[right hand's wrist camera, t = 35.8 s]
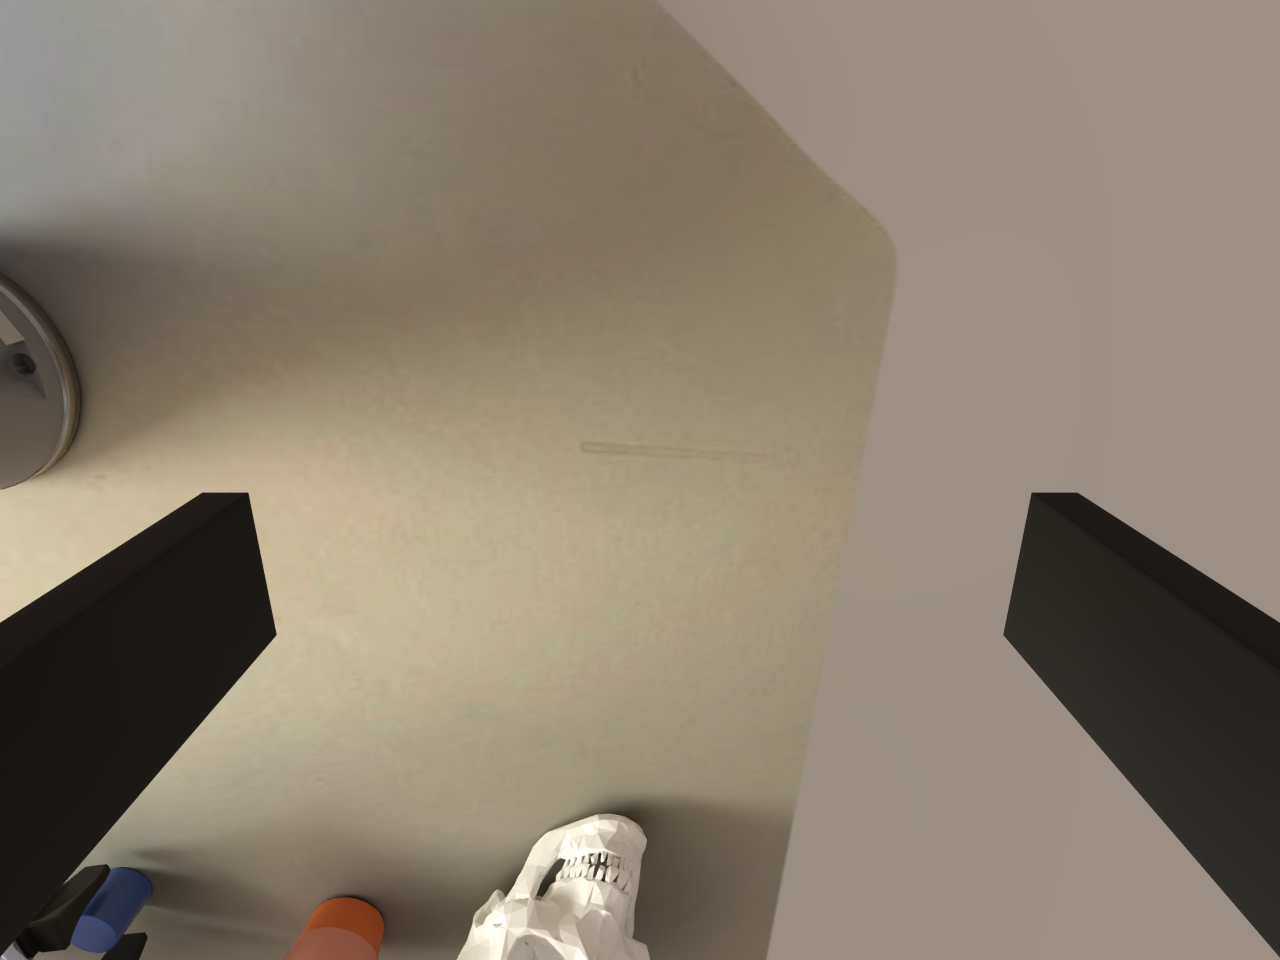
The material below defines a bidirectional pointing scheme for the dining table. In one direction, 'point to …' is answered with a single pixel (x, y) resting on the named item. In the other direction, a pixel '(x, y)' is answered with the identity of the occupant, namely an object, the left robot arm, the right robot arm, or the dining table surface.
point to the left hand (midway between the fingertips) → (116, 903)
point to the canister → (111, 910)
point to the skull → (568, 899)
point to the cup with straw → (340, 932)
